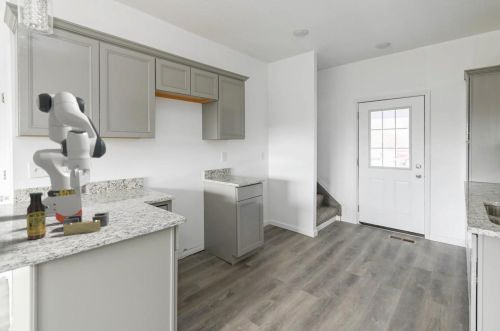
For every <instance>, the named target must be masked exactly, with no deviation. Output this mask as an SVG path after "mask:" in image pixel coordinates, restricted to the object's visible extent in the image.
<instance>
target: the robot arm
mask: <svg viewBox="0 0 500 331" xmlns="http://www.w3.org/2000/svg"><path fill="white" fill-rule="evenodd" d="M35 103H36V107H37V108H38V110H39V111H40V112H42V113H45V114H46V113H47V114H48V119H47V120H48V122H47V123H48V125H47V126H48V127H47V129H48V139H49V140H51V141H52V142H54V143H56V144H59V145H60V148H45V149H44V148H43V149H39V150H36V151H35V152H34V153H33V156H32V161H33V163H34V164H35V165H36V166H37V167H39V168H40V169H42V170H44V171H45V172H46V173H47V175H48V177H49V180H50V187H51V188H50V190H48V191H47V192H46V193H47V194H46V195H47V196H46V198H44V199H42V204H43V205H44V206H45V216H46V217H53V216H55V217H56V214H55V207H56V204H55V196H56V194H59V195H60V190H62V189H63V192H64V190H65V189H67V191H69V194H70V192H71V188H73V193H74V190H75V192H76V197H81V198H82V194H86V193H87V184H88V183H89V182H90V179H91V169H92V161H91V159H100V158H102V157H103V156H104V155H106V153H107V146H106V143H105V141H104V140H103V139H102V137H101V136H100V134H99V132H98V130H97V128H96V127H95V125H94V123H93V121H92V120H91V118H90V117H89V116H88V115H86V114H84V113H85V110H86V102H85V101H84V99H83V98H81V97H79V96H74V95H73V94H72V93H71V92H68V91H59V92H57V93H45V92H44V93H43V92H42V93H39V94H38V95H37V97H36V100H35ZM73 128H77V129H73ZM64 167H65V168H66V167H67V169H68V171H69V170H70V173H69V172H66V171H63V169H62V168H64ZM67 191H66V192H67Z"/></svg>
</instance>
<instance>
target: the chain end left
mask: <svg viewBox="0 0 500 331" xmlns="http://www.w3.org/2000/svg"><path fill="white" fill-rule="evenodd" d="M70 222H71V223H76V222H83V214H82V215H75V216H67V217H66V218H65V219H64V220H63V223H62V225H64V224H67V223H70ZM62 228H63V227H62ZM63 231H64V228H63Z"/></svg>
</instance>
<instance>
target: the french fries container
mask: <svg viewBox="0 0 500 331" xmlns="http://www.w3.org/2000/svg"><path fill="white" fill-rule="evenodd" d="M66 191H67V189H65V190H64V192H63V189H62V190H60V195H59V194H56V196H55V204H56V207H55V214H56V216H55V219H56V220H57V221H58V222H60V223H62V224H63V220H64V219H65V218H66V217H67V216H75V215H82V216H83V208H82V205H83V204H82V196H81V197H76V192H75V190H74V193H73V188H71V192H70V194H69V191H67V192H66Z"/></svg>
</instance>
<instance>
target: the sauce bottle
mask: <svg viewBox="0 0 500 331" xmlns="http://www.w3.org/2000/svg"><path fill="white" fill-rule="evenodd" d="M42 196H43V193H42V192H30V193H29V199H30V200H29V205H28V207H27V208H26V235H27V239H28V240H38V239H42V238H44V237H45V236H46V232H47V227H46V226H47V224H46V217H47V216H45V206H44V205H43V204H42V201H43V199H42Z"/></svg>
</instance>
